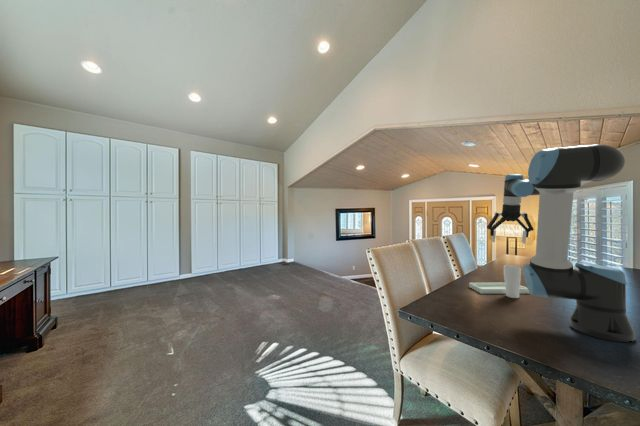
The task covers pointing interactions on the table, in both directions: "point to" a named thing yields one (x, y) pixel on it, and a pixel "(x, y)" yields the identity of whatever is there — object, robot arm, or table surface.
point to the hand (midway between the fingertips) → (508, 242)
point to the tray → (494, 288)
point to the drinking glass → (512, 280)
